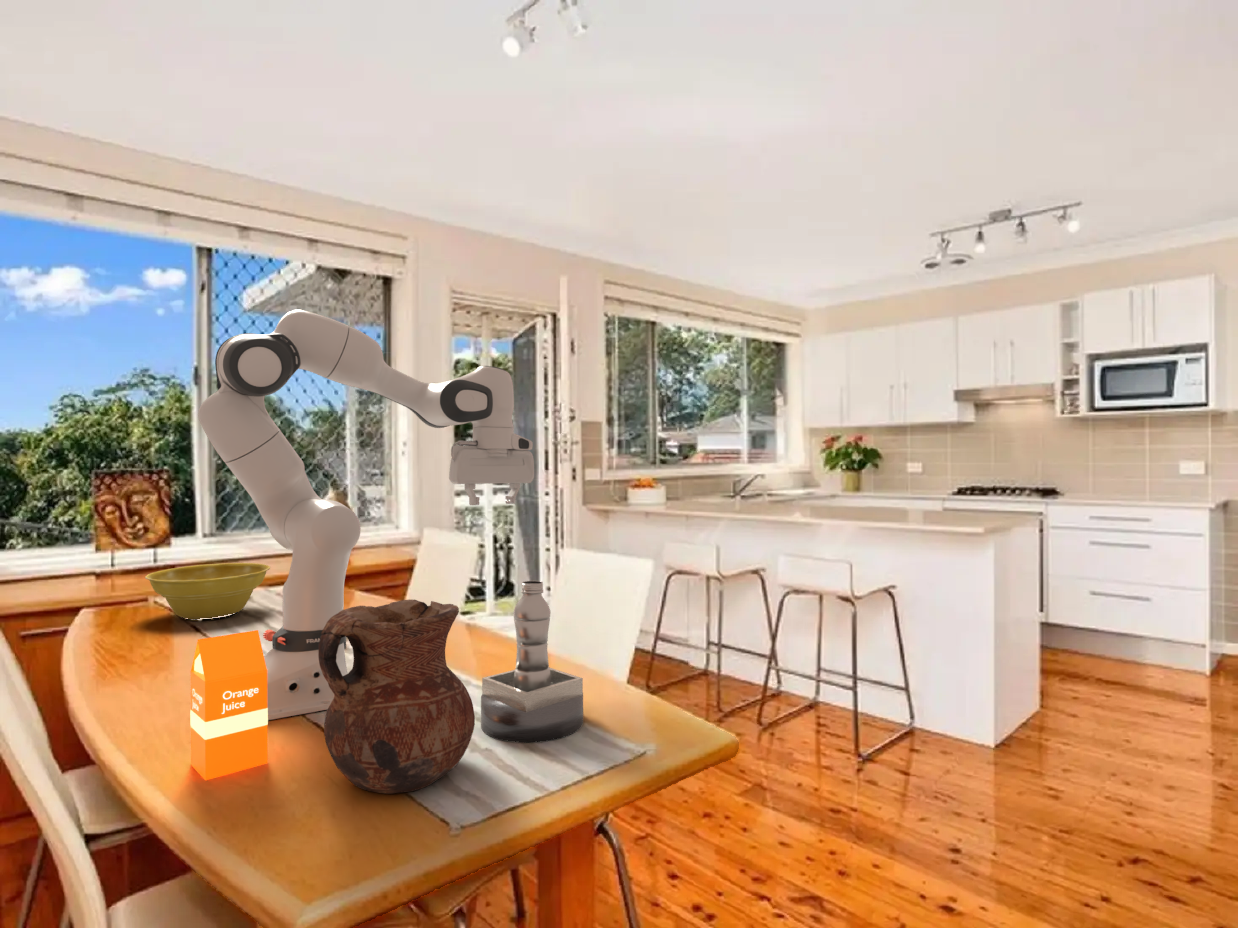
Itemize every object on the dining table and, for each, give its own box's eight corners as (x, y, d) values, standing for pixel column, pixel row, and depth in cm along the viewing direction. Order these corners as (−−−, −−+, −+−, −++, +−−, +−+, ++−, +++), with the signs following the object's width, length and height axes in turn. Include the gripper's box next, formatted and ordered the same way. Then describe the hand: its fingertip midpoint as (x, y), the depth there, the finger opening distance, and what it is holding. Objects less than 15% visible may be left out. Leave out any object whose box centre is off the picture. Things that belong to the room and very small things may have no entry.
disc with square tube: (522, 751, 118) (522, 702, 118) (455, 720, 132) (455, 675, 132) (604, 722, 131) (604, 677, 131) (535, 696, 145) (535, 656, 145)
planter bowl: (116, 626, 204) (116, 577, 204) (201, 603, 235) (200, 561, 235) (221, 631, 198) (220, 581, 198) (293, 606, 230) (292, 563, 230)
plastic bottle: (545, 701, 127) (545, 586, 127) (507, 699, 128) (508, 584, 128) (555, 690, 133) (556, 580, 133) (520, 687, 135) (520, 578, 134)
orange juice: (268, 763, 114) (267, 634, 113) (205, 780, 108) (204, 644, 107) (251, 748, 119) (250, 625, 119) (190, 764, 113) (189, 634, 113)
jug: (394, 737, 124) (393, 589, 124) (501, 757, 116) (501, 599, 116) (289, 793, 104) (288, 616, 103) (410, 822, 96) (410, 630, 95)
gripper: (459, 439, 152) (459, 506, 152) (538, 442, 166) (538, 503, 166) (443, 440, 156) (443, 505, 156) (521, 442, 171) (521, 502, 171)
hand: (492, 504), depth 161 cm, fingers open, 8 cm apart
